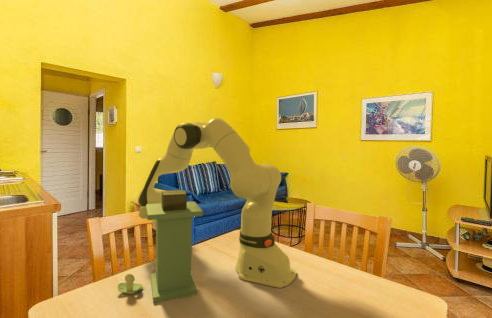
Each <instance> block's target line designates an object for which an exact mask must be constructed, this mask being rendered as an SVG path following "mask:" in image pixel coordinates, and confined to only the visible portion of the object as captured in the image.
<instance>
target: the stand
mask: <svg viewBox="0 0 492 318" xmlns="http://www.w3.org/2000/svg"><path fill="white" fill-rule="evenodd" d="M146 211H147V219H146V220H147V221H152V220H156V228H155V272H151V273H150V282H151V283H150V284H151V293H152V303H158V302H164V301H169V300H174V299H179V298H180V299H181V298H184V297H186V298H187V297H190V296H195V295H198V287H197V285H196V283H195V280H194V277H193V275H192V253H193V252H192V249H193V248H192V245H193V243H192V241H193V235H192V232H193V218H194V217H203V215H204V214H203V213H204V211H203V209H202V208H201V207H200V206H199V205H198V204H197V202H196V201H194V200H193V201H187V210H174V211H163V209H162V203H158V204H146Z"/></svg>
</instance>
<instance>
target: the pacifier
mask: <svg viewBox="0 0 492 318" xmlns="http://www.w3.org/2000/svg"><path fill="white" fill-rule="evenodd" d="M135 278H136V277H135V276H134V274H132V273H126V274H125V276H124V280H125V282H120V283H118V285H117V290H118V291H119V293H122V294H127V295H132V294H136V293H137V292H140V291H141V290H142V291H143V289H144V286H143V284H142V283H134V282H135Z"/></svg>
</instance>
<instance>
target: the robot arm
mask: <svg viewBox="0 0 492 318" xmlns="http://www.w3.org/2000/svg"><path fill="white" fill-rule="evenodd" d="M208 148H212V149H213V150H214V152H215V153H216V154H217V156H218V157H219V158H220V159H221V161H222V162H223V163H224V164H225V167H226V168H227V169H228V173H229V174H230V189H231V191H232V193H233V194H234V195H235V196H236V197H238V198H241V199H246V201H245V204H244V205H243V207H242V209H241V213H240V214H241V217H240V231H239V238H238V239H239V240H238V241H239V252H238V256H237V257H238V258H237V261H236V263H235V264H236V265H235V268H234V269H235V271H236V272H237V274H238V279H240V280H242V281H248V282H252V283H256V284H261V285H265V286H269V287H274V288H277V289H280V288H281V289H282V288H284V287H287V286H288V285H290V284H291V283H292V282H294V280H295V279H296V278H297V270H296V269H295V268H293V267H291V263H290V257H289V256H288V255H287V254H286V252H284V251H283V250H282V248H280V247H279V245H277V244H276V243H275V242H276V240H277V239H278V238H277V237H278V235H275V236H274V235H273V233H272V230H271V229H272V216H273V215H272V213H273V208H274V205H275V199H276V196H277V191H278V188H279V185H280V183H281V182H282V174H281V171H280V170H279V168H278V167H276V166H274V165H271V164H268V163H262V164H257V163H256V162H255V161H254V159H253V157H252V155H251V149H250V148H251V147H250V146H249V145H248V144H247V143H246V142H245V141H244V139H243V138H242V137H241V136H240V135H239V133H238V132H237V131H236V130H235V129H234V128H233V127H232V126H231V125H230V124H229V123H227V122H226V120H224V119H222V118H217V117H215V118H213V119H210V120H209V121H207V122H205V121H204V122H200V121H193V122H192V121H191V122H183V123H180V124H178V125H177V126H176V127H175V129H174V132H173V133H172V135H171V138H170V140H169V143H168V146H167V149H166V152H165V154H164V156H162V157H159V158H158V159H157V160H156V161H155V163H154V165H153V166H152V169H151V170H150V172H149V174H148V178H147V179H146V181H145V184H144V186H143V188H142V189H141V191H140V192H139V194H138V197H137V203H138V204H139V206H140V207H139V209H138V210H139V213H138V217H139V218H140V219H143V220H148V219H147V211H146V204H158V203H162V191H166V190H164V189H159V188H156V187H155V185H156V182H158V181H157V180H158V178H159V177H160V176H162V175H165V174H174V173H176V174H177V173H180V172H182V171H184V170H186V169H187V168H188V167H189V165H190V162H191V160H192V156H193V152H194V150H199V149H201V150H202V149H208ZM151 221H152V222H151V223H152V225H153V228H155V229H156V220H151Z"/></svg>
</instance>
